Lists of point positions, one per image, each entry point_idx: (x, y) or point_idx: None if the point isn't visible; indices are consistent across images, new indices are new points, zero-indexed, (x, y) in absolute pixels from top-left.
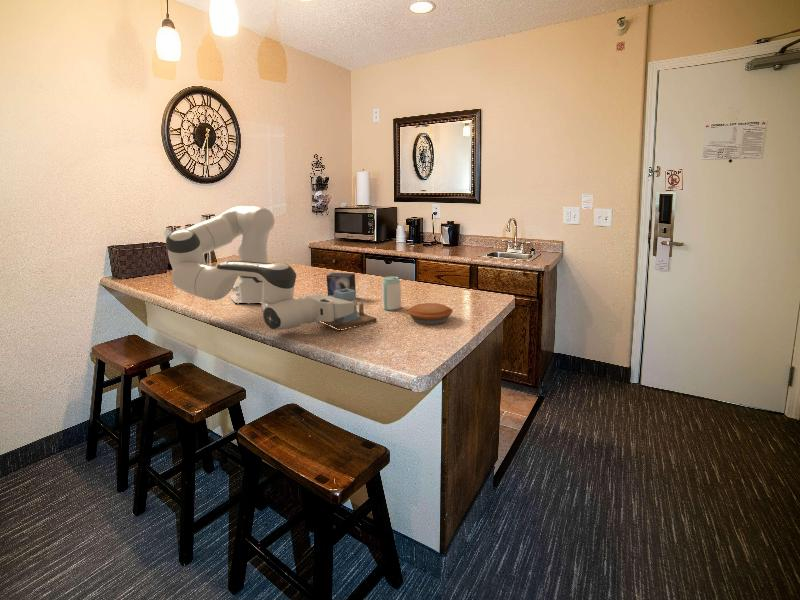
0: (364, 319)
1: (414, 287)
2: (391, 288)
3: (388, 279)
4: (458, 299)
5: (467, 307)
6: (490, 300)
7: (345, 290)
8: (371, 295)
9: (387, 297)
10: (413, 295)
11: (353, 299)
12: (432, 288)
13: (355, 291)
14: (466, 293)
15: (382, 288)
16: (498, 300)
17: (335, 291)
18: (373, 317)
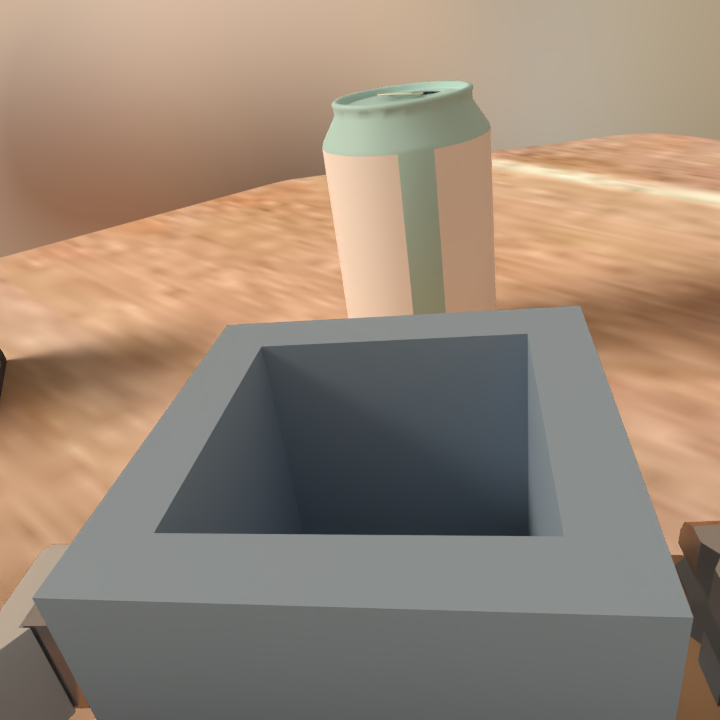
0: (704, 685)
1: (236, 206)
2: (473, 179)
3: (435, 96)
4: (553, 186)
5: (716, 198)
6: (662, 154)
7: (263, 381)
8: (94, 309)
9: (446, 273)
10: (323, 234)
11: (699, 533)
12: (319, 188)
13: (581, 322)
14: (496, 164)
15: (375, 206)
16: (682, 147)
17: (150, 598)
18: (674, 559)
